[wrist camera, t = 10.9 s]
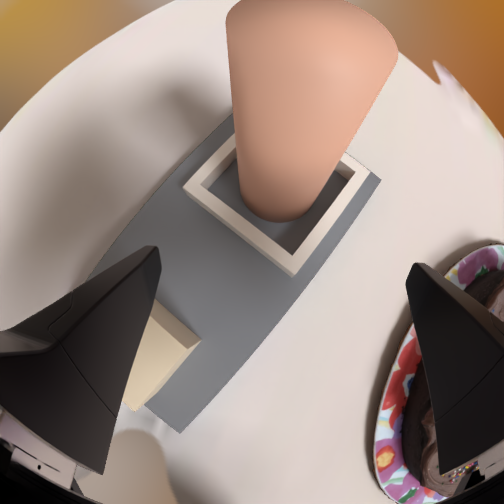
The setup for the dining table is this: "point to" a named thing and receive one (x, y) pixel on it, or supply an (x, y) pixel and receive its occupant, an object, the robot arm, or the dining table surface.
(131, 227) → the base plate
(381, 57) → the pillar
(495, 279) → the chocolate cake
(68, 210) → the dining table surface
